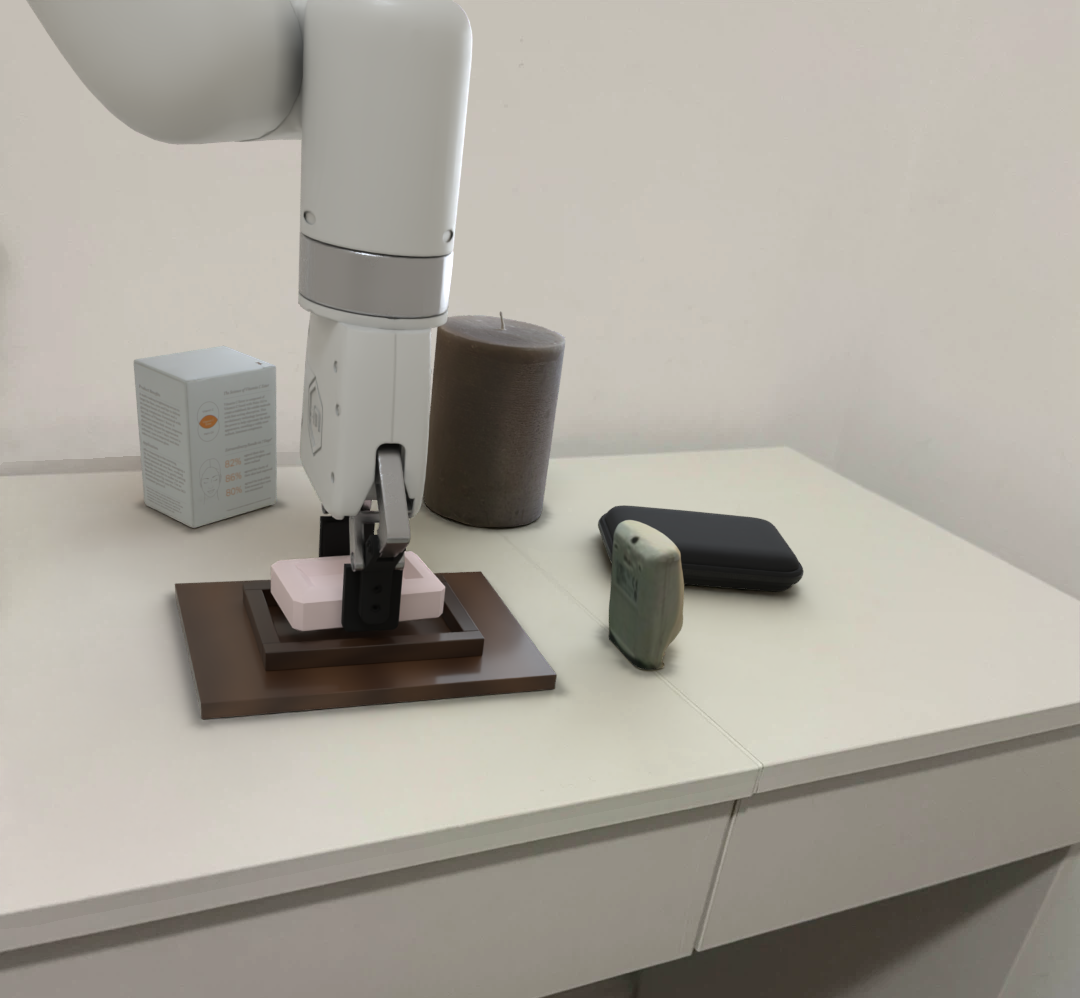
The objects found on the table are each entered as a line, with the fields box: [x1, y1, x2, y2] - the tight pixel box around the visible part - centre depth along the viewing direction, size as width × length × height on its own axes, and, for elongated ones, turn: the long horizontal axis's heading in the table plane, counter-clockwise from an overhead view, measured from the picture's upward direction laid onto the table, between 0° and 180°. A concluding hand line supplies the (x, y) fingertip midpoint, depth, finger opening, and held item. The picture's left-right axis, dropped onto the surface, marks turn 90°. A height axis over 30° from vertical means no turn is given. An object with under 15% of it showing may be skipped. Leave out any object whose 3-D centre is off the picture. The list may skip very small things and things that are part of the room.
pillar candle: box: [423, 311, 566, 528], centre depth 82 cm, size 10×10×15 cm
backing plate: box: [174, 571, 558, 720], centre depth 63 cm, size 20×14×2 cm
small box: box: [133, 345, 278, 529], centre depth 75 cm, size 8×6×10 cm
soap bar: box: [270, 550, 445, 632], centre depth 62 cm, size 5×9×2 cm, turn 117°
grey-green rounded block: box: [608, 520, 685, 671], centre depth 66 cm, size 6×5×8 cm
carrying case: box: [597, 505, 804, 592], centre depth 81 cm, size 11×3×15 cm
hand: (356, 599), depth 63 cm, fingers closed on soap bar, 5 cm apart
